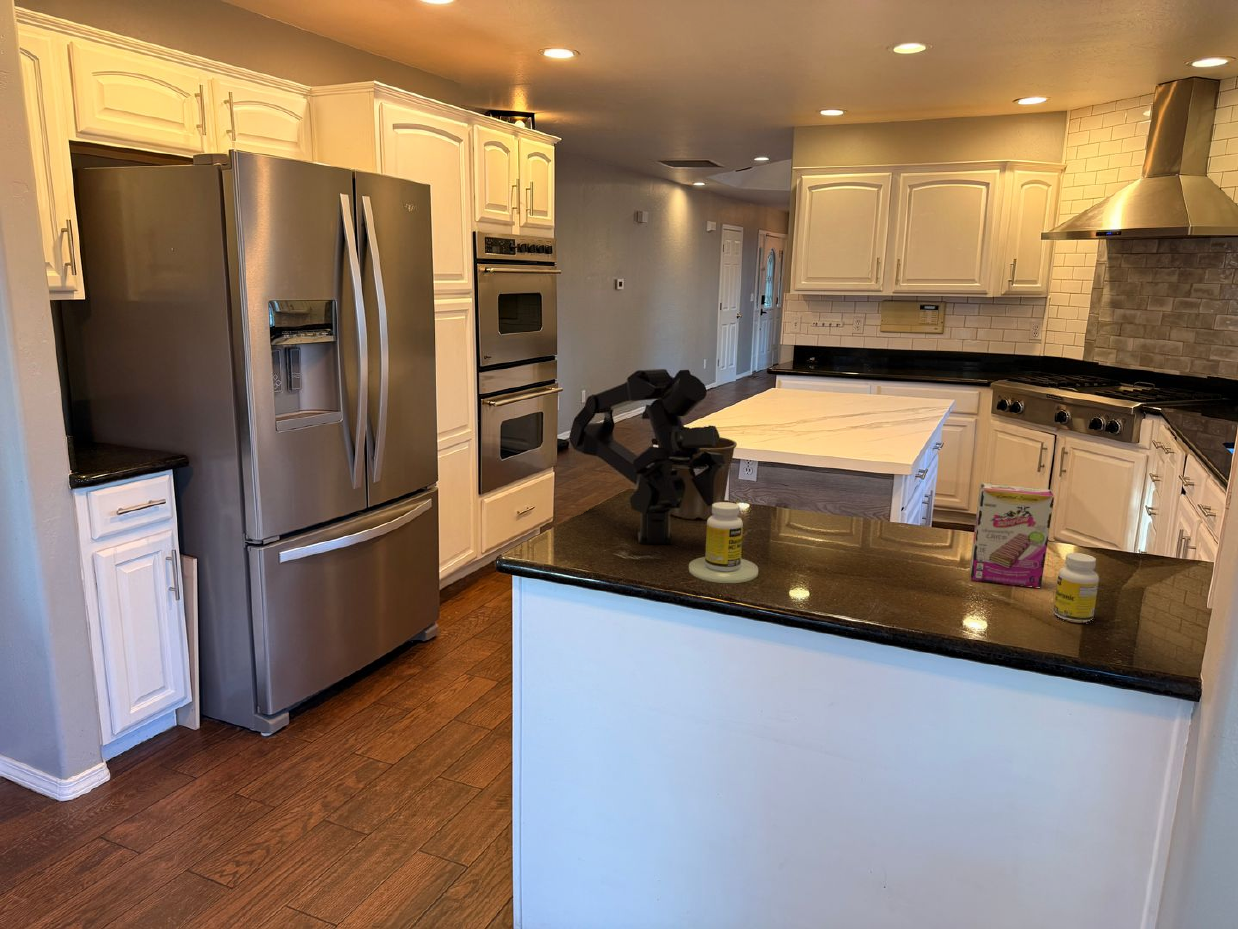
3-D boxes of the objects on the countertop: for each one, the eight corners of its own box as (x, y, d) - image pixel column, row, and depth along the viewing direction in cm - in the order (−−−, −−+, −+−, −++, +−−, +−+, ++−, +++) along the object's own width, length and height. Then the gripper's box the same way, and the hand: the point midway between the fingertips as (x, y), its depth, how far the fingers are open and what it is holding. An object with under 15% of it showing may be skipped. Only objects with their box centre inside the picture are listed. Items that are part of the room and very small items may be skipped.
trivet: (685, 559, 151) (686, 555, 151) (751, 560, 151) (752, 556, 151) (692, 582, 139) (692, 578, 139) (763, 583, 139) (763, 579, 139)
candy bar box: (970, 581, 142) (980, 488, 139) (968, 572, 147) (978, 482, 143) (1042, 590, 139) (1055, 495, 135) (1038, 580, 143) (1050, 488, 140)
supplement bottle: (1045, 611, 130) (1053, 551, 128) (1078, 610, 130) (1086, 550, 128) (1066, 625, 124) (1075, 562, 122) (1100, 624, 125) (1110, 562, 123)
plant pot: (745, 511, 185) (749, 439, 181) (712, 527, 171) (716, 451, 168) (680, 500, 193) (683, 431, 190) (645, 515, 180) (647, 441, 176)
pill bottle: (731, 575, 141) (734, 512, 139) (698, 568, 144) (701, 506, 142) (746, 565, 146) (749, 504, 144) (714, 558, 149) (717, 499, 147)
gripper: (660, 402, 143) (687, 483, 138) (731, 412, 156) (759, 487, 150) (621, 432, 151) (644, 511, 145) (692, 440, 163) (716, 513, 157)
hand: (693, 505), depth 149 cm, fingers open, 9 cm apart
